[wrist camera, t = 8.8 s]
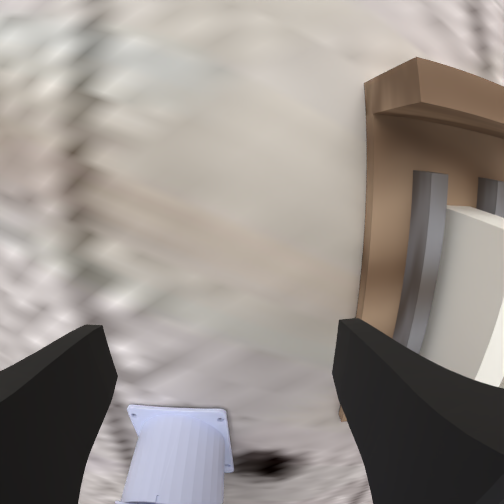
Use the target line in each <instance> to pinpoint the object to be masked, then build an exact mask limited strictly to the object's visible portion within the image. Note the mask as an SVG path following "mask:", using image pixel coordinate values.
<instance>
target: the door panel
mask: <svg viewBox="0 0 504 504" xmlns="http://www.w3.org/2000/svg"><path fill="white" fill-rule="evenodd" d="M419 355H421V356H423V357H425V358H426V359H428V360H430V361H432V362H434V363H436V364H438V365H440V366H442V367H444V368H446V369H448V370H451V371H453V372H456V373H458V374H460V375H463V376H465V377H468V378H470V379H473V380H476V381H479V382H482V383H485V384H489V385H492V386H495V387H499V385H500V383H501V381H502V379H503V377H504V218H503V217H500V216H497V215H494V214H491V213H488V212H485V211H482V210H479V209H476V208H473V207H470V206H451V205H447V207H446V219H445V228H444V237H443V244H442V252H441V258H440V265H439V271H438V277H437V282H436V287H435V292H434V297H433V302H432V307H431V311H430V315H429V319H428V324H427V328H426V332H425V335H424V339H423V343H422V346H421V350H420V353H419Z"/></svg>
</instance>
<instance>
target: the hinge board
mask: <svg viewBox="0 0 504 504" xmlns="http://www.w3.org/2000/svg"><path fill="white" fill-rule="evenodd" d="M364 87H365V104H366V132H367V185H366V213H365V231H364V246H363V258H362V269H361V280H360V289H359V298H358V306H357V313H356V318H359V319H361V320H363V321H365V322H367V323H368V324H370V325H372V326H373V327H375V328H376V329H378V330H380V331H381V332H383V333H384V334H386V335H387V336H389V337H391V338H392V339H394V340H395V341H397V342H399V343H400V344H402V345H404V346H405V347H407V348H409V349H410V350H412V351H414V352H415V353H417V354H419V353H420V350H421V346H422V343H423V339H424V335H425V332H426V328H427V324H428V319H429V315H430V311H431V307H432V302H433V297H434V292H435V287H436V282H437V277H438V271H439V265H440V258H441V252H442V244H443V237H444V228H445V219H446V207H447V205H451V206H470V207H473V208H476V209H479V210H482V211H485V212H488V213H491V214H494V215H497V216H500V217H503V218H504V87H503V86H501V85H498V84H496V83H494V82H491V81H489V80H486V79H484V78H481V77H479V76H476V75H473V74H470V73H468V72H465V71H462V70H459V69H456V68H453V67H450V66H447V65H443V64H440V63H437V62H433V61H430V60H426V59H422V58H418V57H416V58H413V59H411V60H409V61H407V62H405V63H403V64H401V65H399V66H397V67H395V68H393V69H391V70H389V71H387V72H385V73H383V74H381V75H379V76H377V77H375V78H373V79H371V80H369V81H367V82H365V83H364ZM339 416H340V419H341V422H344V421H347V419H346V417H345V414H344V412H343V409H342V407H341V406H340V410H339Z"/></svg>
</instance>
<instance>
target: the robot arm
mask: <svg viewBox="0 0 504 504" xmlns="http://www.w3.org/2000/svg"><path fill="white" fill-rule="evenodd" d="M332 374H333V379H334V383H335V387H336V391H337V395H338V398H339V401H340V404H341V407H342V409H343V412H344V414H345V417H346V419H347V422H348V424H349V426H350V429H351V431H352V434H353V436H354V439H355V441H356V444H357V446H358V449H359V451H360V454H361V457H362V460H363V463H364V466H365V469H366V473H367V477H368V482H369V486H370V490H371V495H372V499H373V504H504V389H503V388H499V387H495V386H492V385H489V384H485V383H482V382H479V381H476V380H473V379H470V378H468V377H465V376H463V375H460V374H458V373H456V372H453V371H451V370H448V369H446V368H444V367H442V366H440V365H438V364H436V363H434V362H432V361H430V360H428V359H426V358H425V357H423V356H421V355H419V354H417V353H415V352H414V351H412V350H410V349H409V348H407V347H405V346H404V345H402V344H400V343H399V342H397V341H395V340H394V339H392V338H391V337H389V336H387V335H386V334H384V333H383V332H381V331H380V330H378V329H376V328H375V327H373V326H372V325H370V324H368V323H367V322H365V321H363V320H361V319H359V318H353V319H343V320H339V325H338V334H337V342H336V349H335V357H334V364H333V370H332ZM117 377H118V375H117V372H116V369H115V366H114V363H113V360H112V357H111V354H110V350H109V347H108V344H107V340H106V337H105V333H104V330H103V326H102V325H84V326H82V327H79V328H77V329H75V330H74V331H72V332H70V333H68V334H66V335H65V336H63V337H61V338H59V339H58V340H56V341H54V342H53V343H51V344H49V345H47V346H46V347H44V348H42V349H41V350H39V351H37V352H36V353H34V354H32V355H30V356H28V357H26V358H25V359H23V360H21V361H19V362H17V363H16V364H14V365H12V366H10V367H8V368H6V369H4V370H2V371H0V504H78V500H79V494H80V488H81V483H82V479H83V474H84V470H85V466H86V463H87V460H88V457H89V454H90V451H91V449H92V446H93V444H94V441H95V439H96V437H97V434H98V432H99V429H100V427H101V425H102V422H103V420H104V418H105V415H106V413H107V410H108V408H109V405H110V403H111V400H112V397H113V393H114V389H115V385H116V381H117ZM127 411H128V414H129V416H130V419H131V421H132V423H133V426H134V428H135V430H136V433H137V435H138V437H139V438H138V441H137V444H136V448H135V451H134V454H133V458H132V461H131V465H130V468H129V472H128V476H127V479H126V483H125V487H124V490H123V494H122V498H121V502H120V501H115V504H223V501H224V473H231V472H233V471H234V464H233V457H232V450H231V443H230V435H229V428H228V420H227V413H226V411H225V410H223V409H203V408H172V407H156V406H143V405H129V406H128V408H127ZM220 418H222V419H220Z"/></svg>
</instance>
